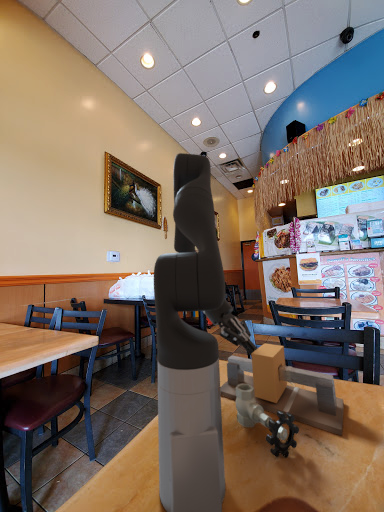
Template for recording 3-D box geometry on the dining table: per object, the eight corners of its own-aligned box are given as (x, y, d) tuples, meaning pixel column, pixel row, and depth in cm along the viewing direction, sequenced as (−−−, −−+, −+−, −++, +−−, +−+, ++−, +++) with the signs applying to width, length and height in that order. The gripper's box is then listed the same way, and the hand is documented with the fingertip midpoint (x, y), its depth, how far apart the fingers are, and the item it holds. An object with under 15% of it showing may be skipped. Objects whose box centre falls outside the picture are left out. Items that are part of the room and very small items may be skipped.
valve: (227, 421, 43) (271, 466, 32) (225, 386, 44) (268, 419, 33) (252, 411, 46) (301, 450, 35) (250, 379, 46) (297, 408, 36)
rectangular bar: (227, 384, 56) (226, 358, 57) (234, 378, 59) (233, 354, 60) (335, 416, 41) (331, 380, 42) (336, 406, 44) (333, 373, 45)
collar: (254, 396, 49) (251, 353, 50) (267, 380, 56) (264, 343, 57) (276, 403, 46) (272, 357, 47) (287, 385, 53) (283, 346, 54)
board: (217, 393, 53) (217, 389, 53) (237, 376, 62) (237, 372, 63) (341, 435, 37) (341, 429, 38) (343, 403, 47) (343, 398, 47)
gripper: (208, 297, 56) (257, 353, 47) (231, 294, 66) (273, 339, 58) (193, 316, 58) (236, 372, 50) (217, 310, 69) (256, 356, 60)
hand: (256, 354), depth 54 cm, fingers closed
